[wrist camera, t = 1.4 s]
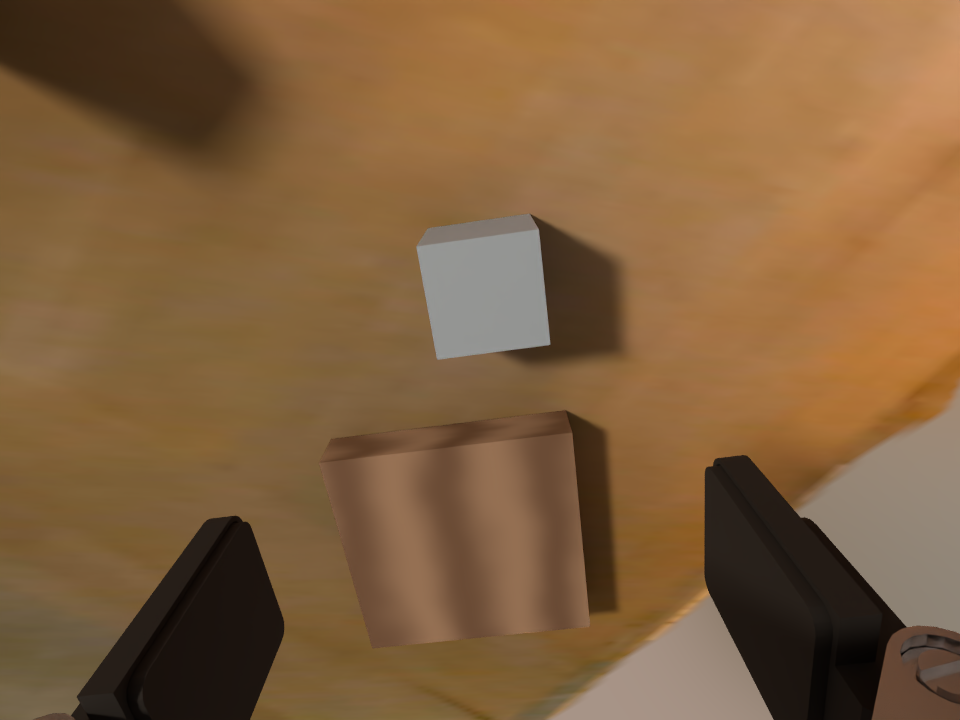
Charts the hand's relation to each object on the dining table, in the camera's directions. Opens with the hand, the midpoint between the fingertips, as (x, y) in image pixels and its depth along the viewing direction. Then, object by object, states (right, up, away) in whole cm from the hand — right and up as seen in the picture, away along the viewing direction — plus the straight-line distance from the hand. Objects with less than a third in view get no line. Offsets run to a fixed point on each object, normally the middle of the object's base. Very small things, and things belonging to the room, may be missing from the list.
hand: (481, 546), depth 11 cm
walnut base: (-1, -8, +29) cm, 30 cm away
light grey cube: (0, +9, +22) cm, 24 cm away
